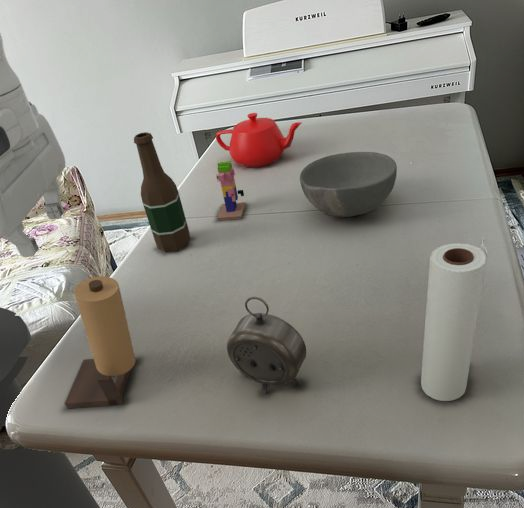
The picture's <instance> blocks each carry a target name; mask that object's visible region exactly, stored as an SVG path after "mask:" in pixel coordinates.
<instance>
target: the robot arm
mask: <svg viewBox="0 0 524 508" xmlns="http://www.w3.org/2000/svg"><path fill="white" fill-rule="evenodd" d="M3 41H4V40H3V36H2V34H1V33H0V240H1V239H6V240H7V241H9V242H10V243H11V244H13V246H15V247H16V250H17V251H18V253H19V255H20V256H21V257H23V258H31V257H34V256H35V255H36V253H37V252H38V251H39V244H37V241H36V239H35V237H34V236H30V237H29V236H28V235H27V234H26V233H25V232H24V230H25V226H24V224H23V221H24V220H25V219H26V218H27V216H28V215H29V214H30V213H31V211H32V210H33V209H34V208H35V206H36V205H37V204H38V202H39V201H40V200H41V198H42V197H43V200H44V203H45V204H44V207H43V209H44V212H45V213H46V215H47V218H49V220H58V219H61V217H62V216H63V214H64V213H65V209H64V206H63V204H62V202H61V193H60V184H59V182H58V180H57V179H58V177H59V176H60V175H61V173H63V171H64V170H65V169H66V158H65V154H64V152H63V149H62V147H61V145H60V143H59V141H58V139H57V136H56V134H55V132H54V130H53V128H52V126H51V124H50V123H49V121H48V120H47V118H46V117H45V116H44V115H43V114H41V113H39V110H38V108H37V107H36V105H35V104H33V103H32V102H31V101H29V99H28V97H27V94H26V91H25V90H24V87H23V85H22V82H21V81H20V78H19V76H18V75H17V74H16V72H15V71H14V69H13V68H12V66H11V65H10V63H9V62H8V59H7V56H6V53H5V48H4V47H5V46H4V42H3Z"/></svg>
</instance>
